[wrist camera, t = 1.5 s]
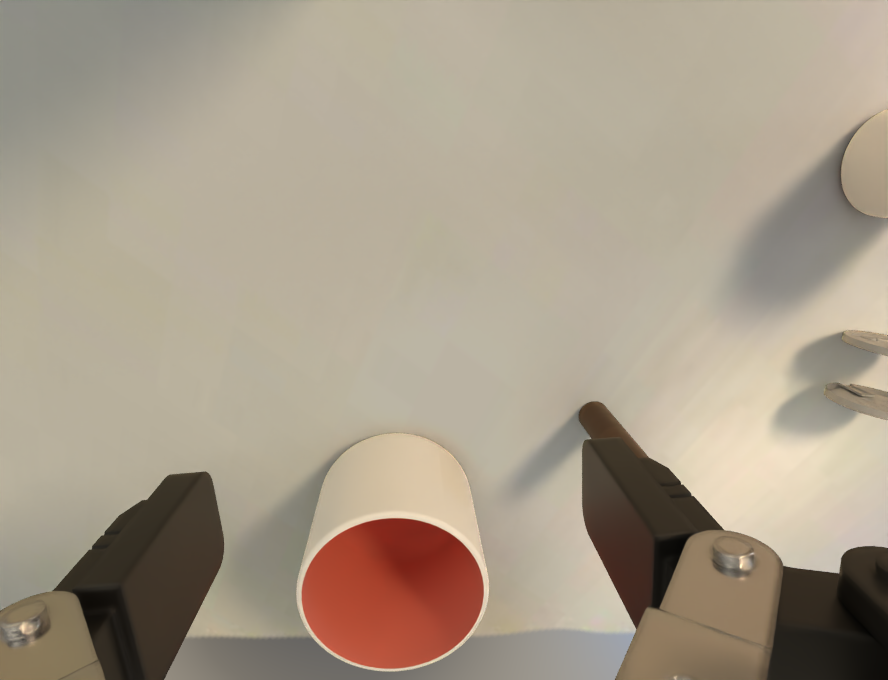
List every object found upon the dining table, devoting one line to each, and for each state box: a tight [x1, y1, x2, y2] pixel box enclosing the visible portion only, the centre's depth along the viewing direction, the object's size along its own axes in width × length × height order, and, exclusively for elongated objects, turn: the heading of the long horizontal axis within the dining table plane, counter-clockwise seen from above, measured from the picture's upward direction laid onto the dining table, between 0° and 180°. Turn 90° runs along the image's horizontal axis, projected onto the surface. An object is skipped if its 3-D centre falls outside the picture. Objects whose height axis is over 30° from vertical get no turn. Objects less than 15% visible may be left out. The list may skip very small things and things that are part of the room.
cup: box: [296, 433, 489, 671], centre depth 34 cm, size 10×10×10 cm
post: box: [579, 402, 648, 458], centre depth 34 cm, size 2×2×8 cm
